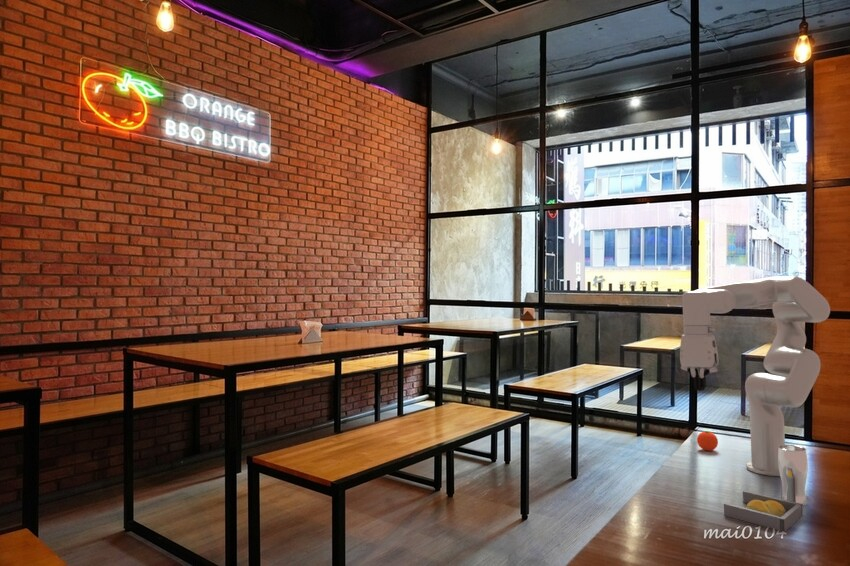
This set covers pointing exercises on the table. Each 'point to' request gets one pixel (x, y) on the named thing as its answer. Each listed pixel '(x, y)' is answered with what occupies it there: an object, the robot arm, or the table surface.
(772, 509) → the bread roll
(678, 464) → the table surface
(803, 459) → the beer glass
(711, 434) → the clementine
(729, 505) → the frame
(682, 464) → the table surface
